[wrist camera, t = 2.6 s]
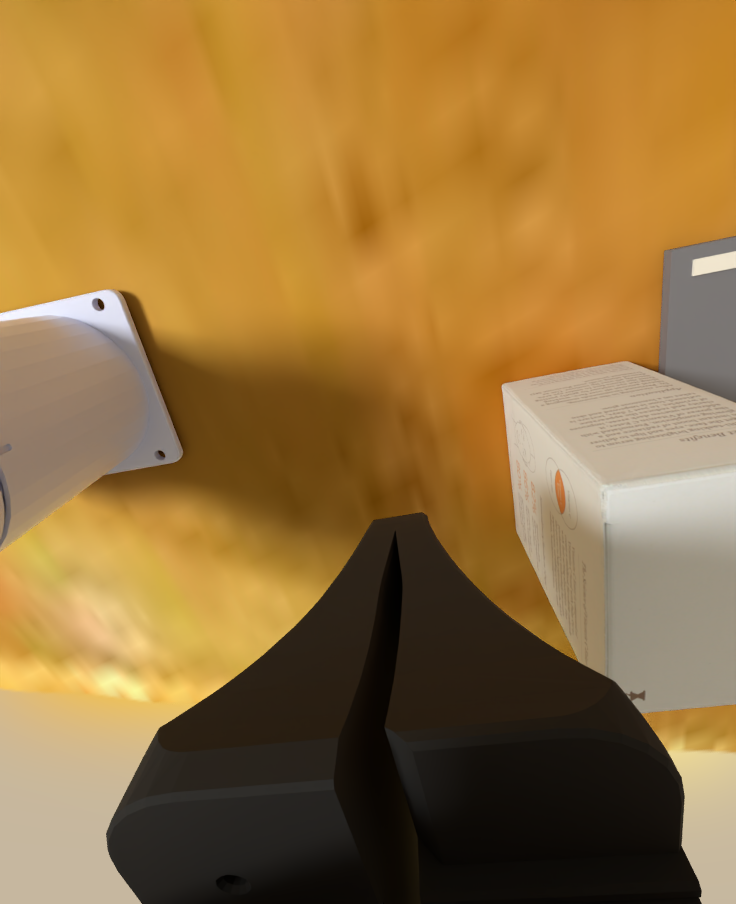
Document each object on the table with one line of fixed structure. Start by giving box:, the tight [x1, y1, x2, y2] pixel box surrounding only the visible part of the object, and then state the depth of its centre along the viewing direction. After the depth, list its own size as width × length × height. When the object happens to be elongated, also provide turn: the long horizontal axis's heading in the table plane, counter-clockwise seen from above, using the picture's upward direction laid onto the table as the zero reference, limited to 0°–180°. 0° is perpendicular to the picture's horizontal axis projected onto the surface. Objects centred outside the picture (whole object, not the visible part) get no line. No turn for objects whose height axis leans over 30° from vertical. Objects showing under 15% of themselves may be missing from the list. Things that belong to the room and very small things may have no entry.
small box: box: [502, 361, 736, 713], centre depth 16 cm, size 8×6×10 cm
